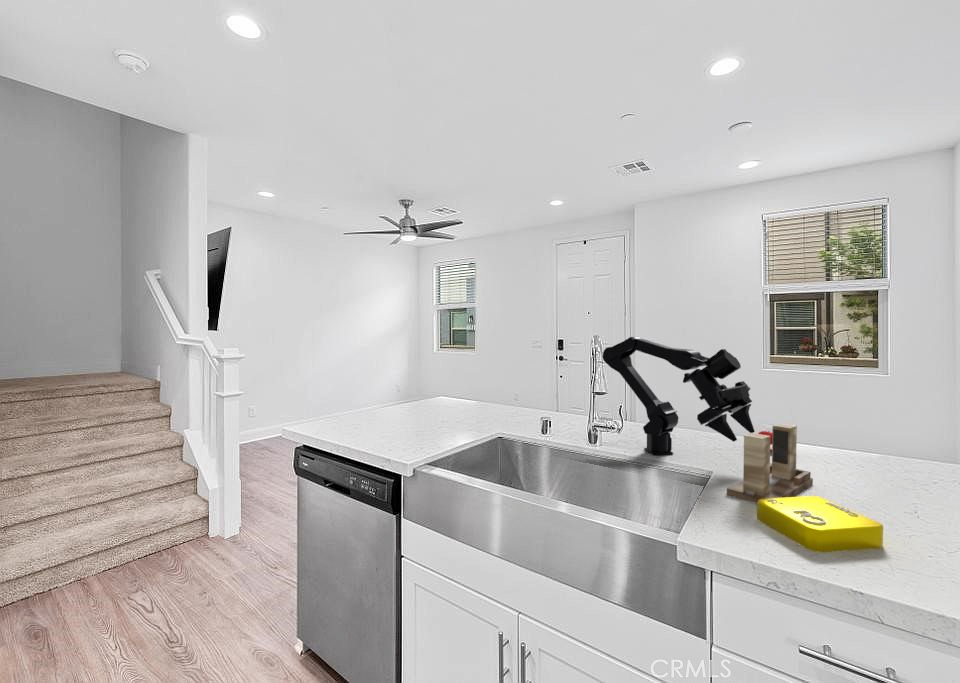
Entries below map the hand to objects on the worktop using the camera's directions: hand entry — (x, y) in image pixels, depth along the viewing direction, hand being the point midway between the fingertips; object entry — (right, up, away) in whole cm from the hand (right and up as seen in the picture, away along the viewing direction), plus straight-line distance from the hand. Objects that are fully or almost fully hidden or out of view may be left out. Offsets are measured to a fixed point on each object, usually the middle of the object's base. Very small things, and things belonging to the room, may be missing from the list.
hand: (744, 436), depth 122 cm
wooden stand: (-1, -10, -13) cm, 16 cm away
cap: (+20, -9, +21) cm, 30 cm away
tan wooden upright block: (+5, -8, -8) cm, 13 cm away
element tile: (-7, -12, -35) cm, 37 cm away
